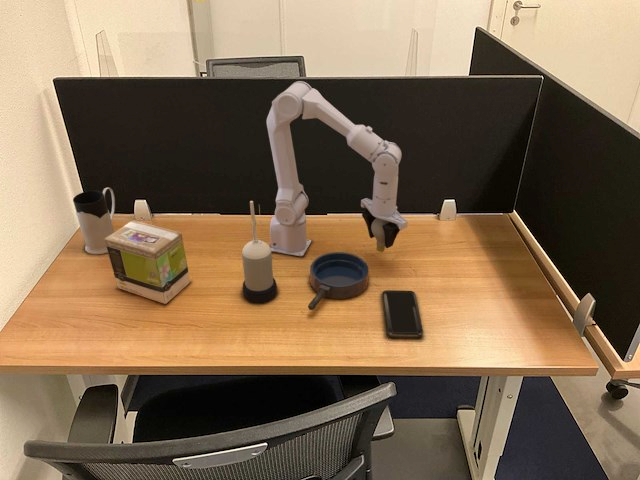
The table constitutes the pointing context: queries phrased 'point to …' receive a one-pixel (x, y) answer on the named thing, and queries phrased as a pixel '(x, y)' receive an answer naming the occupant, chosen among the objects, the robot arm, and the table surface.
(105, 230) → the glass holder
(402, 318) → the phone
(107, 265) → the table surface
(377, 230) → the light bulb
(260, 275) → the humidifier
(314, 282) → the pan
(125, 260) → the tea box
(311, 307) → the pan handle
